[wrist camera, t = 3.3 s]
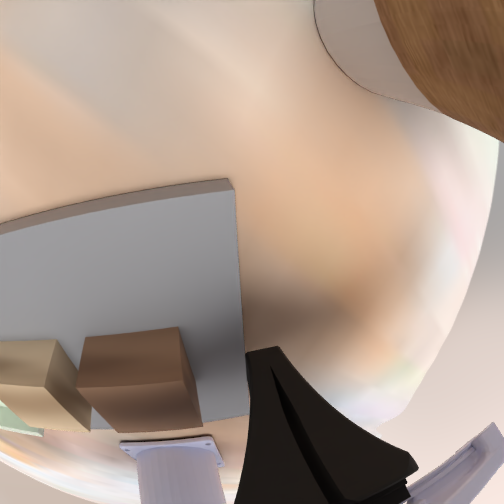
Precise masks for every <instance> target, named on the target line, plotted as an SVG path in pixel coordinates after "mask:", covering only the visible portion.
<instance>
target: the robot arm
mask: <svg viewBox="0 0 504 504" xmlns="http://www.w3.org/2000/svg"><path fill="white" fill-rule="evenodd" d="M245 363H246V376H247V382H248V387H249V392H250V417H249V430H248V439H247V446H246V452H245V459H244V464H243V469H242V474H241V478H240V483H239V487H238V491H237V495H236V498H235V502H234V504H403V503H405V502H406V501H407V504H470V503H471V501H472V500H473V499H474V498H475V497H476V496H477V495H478V494H479V492H480V491H481V490H482V489H483V488H484V486H485V485H486V484H487V483H488V481H489V480H490V479H491V477H492V476H493V475H494V474H495V473H496V471H497V470H498V469H499V468H500V467H501V465H502V464H503V463H504V437H503V436H502V434H501V433H500V431H499V430H498V428H497V426H496V425H495V423H494V422H492V423H491V424H490V425H489V426H487V427H486V428H485V429H484V430H483V431H482V432H481V433H479V434H478V435H477V436H476V437H474V438H473V439H471V440H470V441H469V442H467V443H466V444H465V445H464V446H463V447H461V448H460V449H459V450H458V451H456V453H455V454H454V455H453V456H452V457H450V458H449V459H448V460H446V461H445V462H444V463H442V464H441V465H440V466H438V467H437V468H435V469H434V470H433V471H431V472H430V473H428V474H427V475H425V476H424V477H422V478H421V479H419V480H418V481H416V482H414V483H413V484H411V485H410V486H408V487H406V486H405V484H407V481H406V479H405V478H406V477H408V476H410V475H411V474H413V473H414V472H416V471H417V470H418V468H419V467H418V465H417V464H416V462H415V460H414V459H413V458H412V456H411V455H410V454H409V453H408V452H407V451H404V450H402V449H400V448H397V447H395V446H393V445H391V444H389V443H386V442H384V441H383V440H381V439H379V438H377V437H375V436H374V435H372V434H370V433H369V432H367V431H366V430H364V429H362V428H361V427H359V426H358V425H356V424H355V423H353V422H352V421H350V420H349V419H348V418H346V417H345V416H344V415H342V414H341V413H340V412H339V411H337V410H336V409H335V408H334V407H333V406H331V405H330V404H329V403H328V402H327V401H326V400H325V399H324V398H323V397H322V396H320V395H319V394H318V393H317V392H316V391H315V390H314V389H313V388H312V387H311V385H310V384H309V383H308V382H307V381H306V380H305V379H304V378H303V377H302V376H301V374H300V373H299V372H298V371H297V370H296V369H295V367H294V366H293V365H292V364H291V362H290V361H289V360H288V358H287V357H286V356H285V354H284V353H283V352H282V350H281V349H280V347H278V346H274V347H270V348H265V349H260V350H256V351H251V352H247V353H246V354H245ZM119 447H120V448H121V449H122V450H123V451H124V452H126V453H127V454H128V455H129V456H131V457H132V458H133V459H135V460H136V461H137V471H138V482H139V491H140V499H141V504H226V500H225V496H224V492H223V488H222V484H221V480H220V476H219V472H218V467H223V466H225V464H224V461H223V459H222V457H221V455H220V453H219V451H218V449H217V446H216V444H215V442H214V440H213V438H212V437H210V436H206V437H198V438H190V439H181V440H170V441H156V442H129V443H120V444H119Z"/></svg>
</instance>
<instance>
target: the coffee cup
mask: <svg viewBox="0 0 504 504" xmlns="http://www.w3.org/2000/svg"><path fill="white" fill-rule="evenodd" d="M314 12H315V19H316V24H317V27H318V31H319V34H320V37H321V39H322V41H323V43H324V45H325V47H326V49H327V51H328V53H329V54H330V55H331V57H332V58H333V60H334V61H335V62H336V64H337V65H338V66H339V67H340V68H341V69H342V70H343V71H344V72H345V74H346V75H347V76H348V77H350V78H351V79H352V80H353V81H355V82H356V83H357V84H358V85H360V86H361V87H363V88H365V89H367V90H369V91H370V92H373V93H376V94H379V95H382V96H385V97H389V98H392V99H396V100H400V101H404V102H407V103H411V104H414V105H418V106H421V107H424V108H427V109H431V110H434V111H437V112H440V113H442V114H445V115H447V116H449V117H451V118H453V119H455V120H457V121H460V122H462V123H464V124H467V125H469V126H471V127H473V128H475V129H478V130H480V131H482V132H484V133H486V134H488V135H490V136H492V137H494V138H496V139H498V140H500V141H501V142H503V143H504V0H315V4H314Z"/></svg>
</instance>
